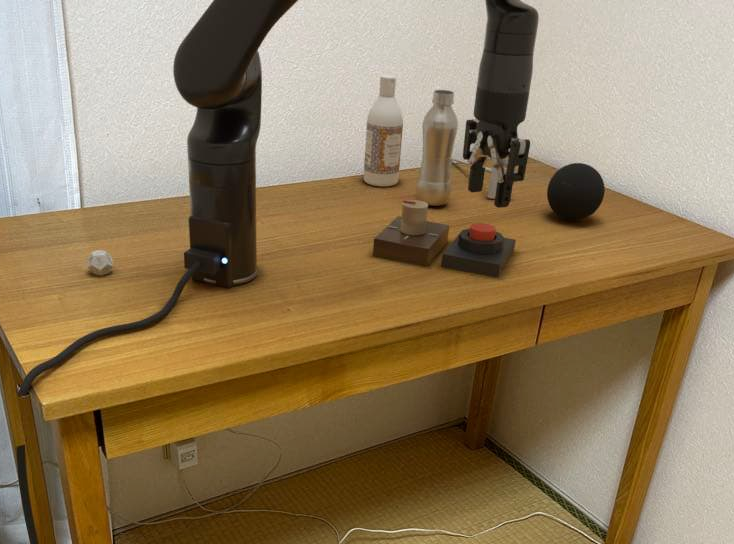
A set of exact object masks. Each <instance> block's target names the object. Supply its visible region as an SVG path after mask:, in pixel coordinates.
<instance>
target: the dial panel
mask: <svg viewBox="0 0 734 544" xmlns="http://www.w3.org/2000/svg"><path fill="white" fill-rule="evenodd" d="M401 218H402V216H399V215H398V216H396V217H395V218H394V219H393V220H392V221H391V222H390V223H389V224H388V225H387V226H385V227H384V228H383V229H382V230H381V231H380V232H379V233H378V234H377V235H376V236H375V237H374V238H373V247H372V248H373V249H372V257H375V258H381V259H386V260H391V261H396V262H400V263H401V262H402V263H406V264H410V265H411V264H412V265H416V266H420V267H421V266H422V267H426V268H427V267H428V266H429V265H430V264H431V263H432V261H433V260H434V259H435V258H436V257H437V256H438V254H439V253H440V252H441V251H442V250H443V249H444V247H445V246H446V245H447V244H448V242H449V241H448V240H449V235H450V233H449V232H450V224H445V223H439V222H433V221H428V220H426V230H425V233H424V234H422V235H407V234H404V233H402V232H401V230H400V229H401Z"/></svg>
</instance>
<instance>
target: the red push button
mask: <svg viewBox="0 0 734 544" xmlns="http://www.w3.org/2000/svg"><path fill="white" fill-rule="evenodd" d="M469 228H470V232H469V237H470V238H472V239H475V240H480V241H491V240H494V238H495V232H497V231H496V230H497V228H496V227H495V226H494V225H492V224H489V223H484V222H475V223H472V224H471V225H470V226H469Z"/></svg>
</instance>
